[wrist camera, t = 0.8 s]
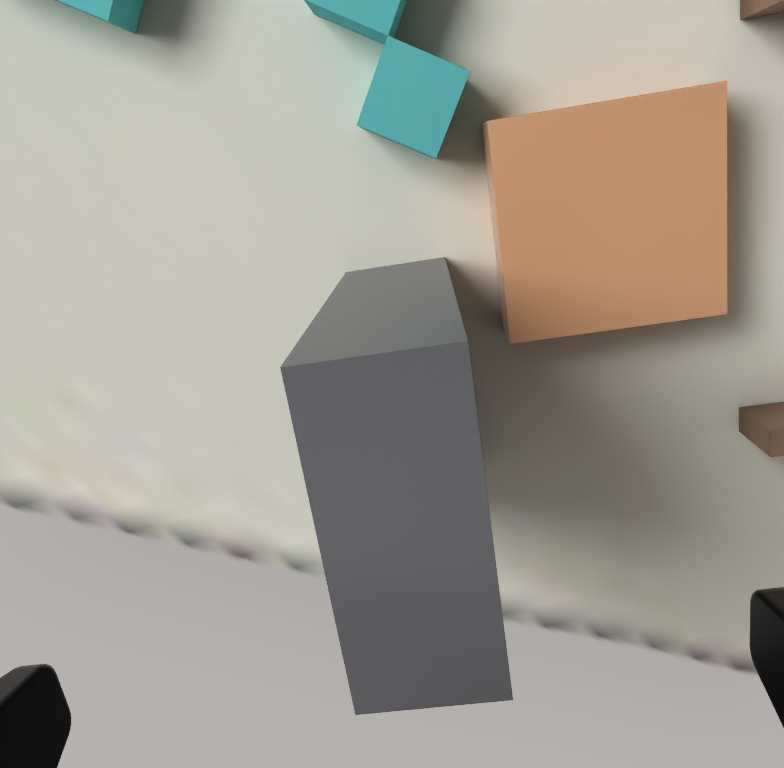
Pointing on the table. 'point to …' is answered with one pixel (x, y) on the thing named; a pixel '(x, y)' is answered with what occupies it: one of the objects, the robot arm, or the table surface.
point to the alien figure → (392, 76)
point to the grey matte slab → (400, 490)
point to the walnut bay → (778, 420)
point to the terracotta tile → (610, 213)
